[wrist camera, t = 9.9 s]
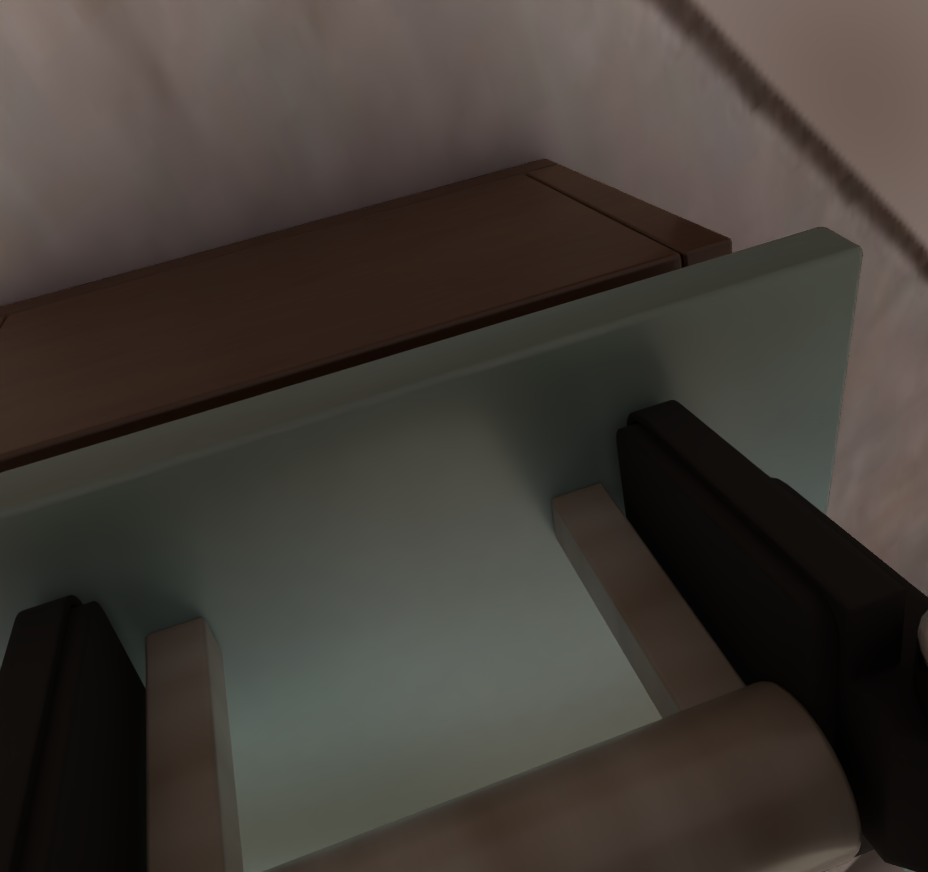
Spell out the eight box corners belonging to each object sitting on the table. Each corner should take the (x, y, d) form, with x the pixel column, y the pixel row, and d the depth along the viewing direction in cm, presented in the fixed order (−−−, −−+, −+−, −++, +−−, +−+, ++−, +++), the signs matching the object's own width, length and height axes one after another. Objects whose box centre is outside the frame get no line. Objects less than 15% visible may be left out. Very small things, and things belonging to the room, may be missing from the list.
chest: (-27, 313, 17) (-165, 505, 11) (546, 157, 19) (732, 238, 13) (203, 757, 24) (205, 1047, 17) (613, 610, 26) (758, 820, 19)
